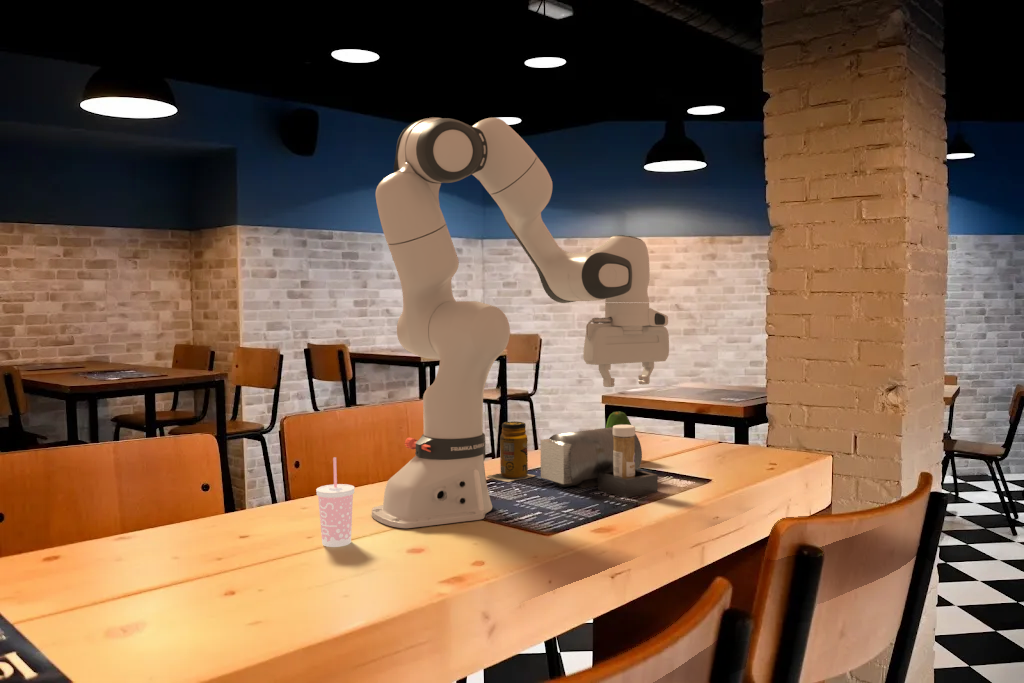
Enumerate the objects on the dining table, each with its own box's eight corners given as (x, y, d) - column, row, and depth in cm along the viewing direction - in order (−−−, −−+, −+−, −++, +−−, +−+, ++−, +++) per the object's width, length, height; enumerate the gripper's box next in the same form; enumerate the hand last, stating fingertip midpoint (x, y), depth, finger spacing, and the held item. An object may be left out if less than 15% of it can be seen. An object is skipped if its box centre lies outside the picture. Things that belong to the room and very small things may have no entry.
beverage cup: (310, 542, 134) (308, 457, 133) (344, 535, 138) (342, 452, 137) (328, 550, 129) (326, 463, 128) (362, 543, 133) (360, 457, 132)
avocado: (598, 458, 200) (598, 409, 199) (628, 456, 202) (628, 408, 202) (611, 465, 192) (611, 414, 192) (642, 462, 194) (642, 412, 194)
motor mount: (599, 502, 157) (598, 446, 157) (536, 483, 174) (536, 431, 174) (684, 486, 170) (684, 433, 169) (618, 469, 187) (618, 421, 187)
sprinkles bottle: (637, 493, 164) (637, 427, 163) (615, 494, 164) (614, 427, 163) (632, 488, 169) (632, 423, 168) (611, 488, 168) (610, 424, 168)
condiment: (536, 476, 181) (535, 422, 181) (508, 482, 175) (507, 427, 175) (513, 471, 187) (512, 419, 186) (485, 477, 181) (484, 423, 180)
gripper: (597, 317, 157) (596, 389, 157) (674, 317, 168) (673, 384, 169) (576, 317, 162) (576, 387, 162) (652, 316, 173) (652, 381, 174)
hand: (626, 385), depth 166 cm, fingers open, 8 cm apart
